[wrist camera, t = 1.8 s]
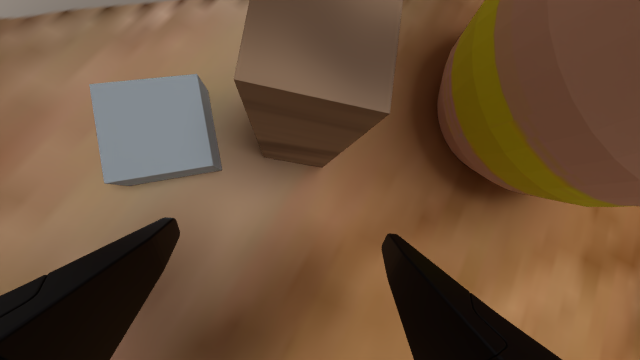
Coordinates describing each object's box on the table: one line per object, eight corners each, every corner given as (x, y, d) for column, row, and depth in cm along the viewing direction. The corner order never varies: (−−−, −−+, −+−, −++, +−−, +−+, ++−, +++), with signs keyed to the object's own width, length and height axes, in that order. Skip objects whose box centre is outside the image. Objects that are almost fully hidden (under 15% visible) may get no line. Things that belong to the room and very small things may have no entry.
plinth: (222, 170, 22) (213, 165, 19) (129, 185, 21) (104, 183, 18) (207, 90, 23) (196, 74, 20) (116, 100, 21) (89, 84, 18)
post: (322, 167, 24) (390, 113, 9) (263, 157, 23) (233, 79, 8) (330, 112, 25) (405, -21, 10) (273, 100, 24) (262, -66, 9)
